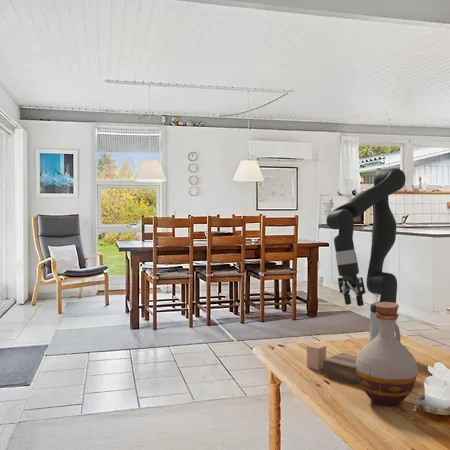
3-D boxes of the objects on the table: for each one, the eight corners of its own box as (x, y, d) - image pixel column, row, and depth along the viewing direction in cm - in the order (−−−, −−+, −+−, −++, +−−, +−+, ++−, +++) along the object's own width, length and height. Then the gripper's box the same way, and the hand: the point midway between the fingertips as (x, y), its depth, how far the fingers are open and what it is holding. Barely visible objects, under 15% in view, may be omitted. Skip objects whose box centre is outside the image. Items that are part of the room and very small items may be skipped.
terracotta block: (314, 364, 182) (314, 343, 182) (325, 367, 178) (326, 346, 178) (306, 367, 178) (307, 345, 178) (318, 370, 175) (318, 348, 175)
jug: (371, 385, 160) (372, 295, 159) (426, 398, 149) (428, 302, 148) (345, 403, 145) (346, 304, 144) (404, 419, 134) (406, 312, 133)
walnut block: (341, 368, 178) (341, 352, 177) (371, 376, 169) (371, 360, 169) (323, 376, 169) (323, 359, 169) (353, 385, 161) (354, 367, 160)
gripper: (366, 260, 176) (373, 304, 175) (345, 261, 189) (352, 302, 188) (348, 263, 173) (356, 308, 173) (329, 264, 187) (336, 305, 186)
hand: (354, 305), depth 180 cm, fingers open, 8 cm apart
